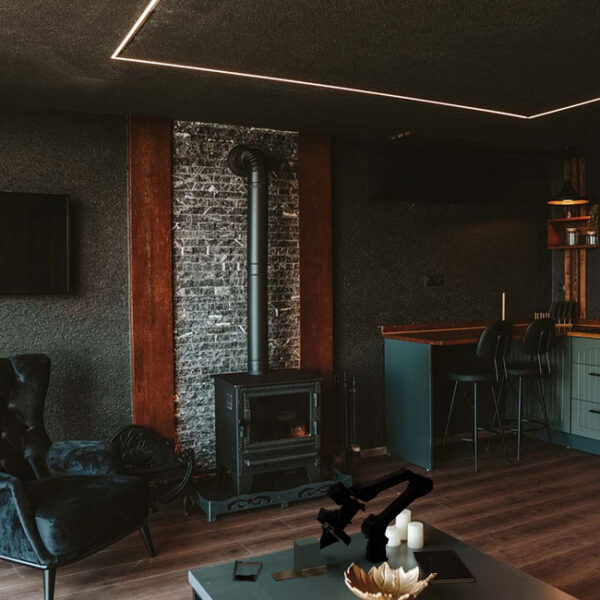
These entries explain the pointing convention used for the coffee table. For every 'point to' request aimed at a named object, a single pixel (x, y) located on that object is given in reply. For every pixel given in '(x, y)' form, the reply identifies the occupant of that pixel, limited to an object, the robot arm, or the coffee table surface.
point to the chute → (293, 574)
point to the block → (306, 554)
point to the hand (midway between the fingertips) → (318, 548)
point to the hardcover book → (443, 566)
